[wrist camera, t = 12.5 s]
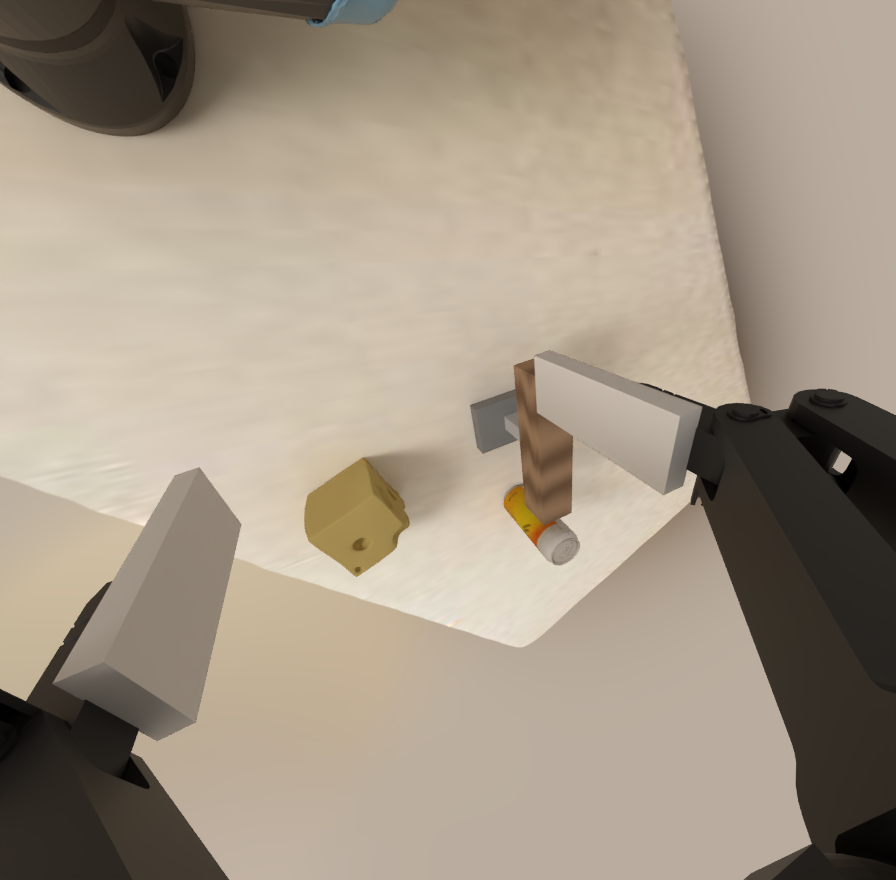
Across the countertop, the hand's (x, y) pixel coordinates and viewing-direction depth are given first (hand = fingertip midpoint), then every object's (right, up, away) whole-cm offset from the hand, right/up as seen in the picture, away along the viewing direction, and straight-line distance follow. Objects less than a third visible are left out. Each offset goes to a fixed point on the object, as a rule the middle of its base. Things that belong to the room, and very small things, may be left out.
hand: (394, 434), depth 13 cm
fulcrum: (+12, +4, +42) cm, 43 cm away
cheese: (-12, -9, +38) cm, 41 cm away
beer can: (+15, -11, +51) cm, 55 cm away
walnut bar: (+15, 0, +35) cm, 38 cm away
